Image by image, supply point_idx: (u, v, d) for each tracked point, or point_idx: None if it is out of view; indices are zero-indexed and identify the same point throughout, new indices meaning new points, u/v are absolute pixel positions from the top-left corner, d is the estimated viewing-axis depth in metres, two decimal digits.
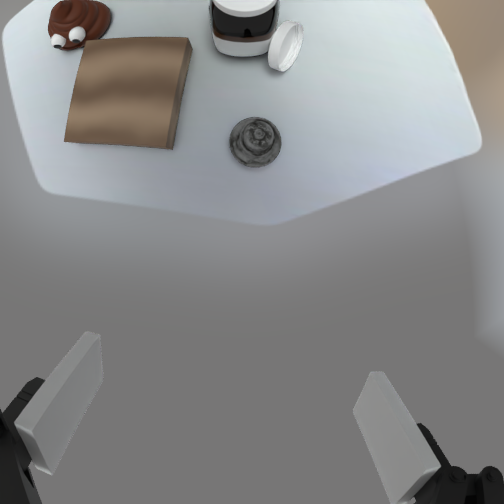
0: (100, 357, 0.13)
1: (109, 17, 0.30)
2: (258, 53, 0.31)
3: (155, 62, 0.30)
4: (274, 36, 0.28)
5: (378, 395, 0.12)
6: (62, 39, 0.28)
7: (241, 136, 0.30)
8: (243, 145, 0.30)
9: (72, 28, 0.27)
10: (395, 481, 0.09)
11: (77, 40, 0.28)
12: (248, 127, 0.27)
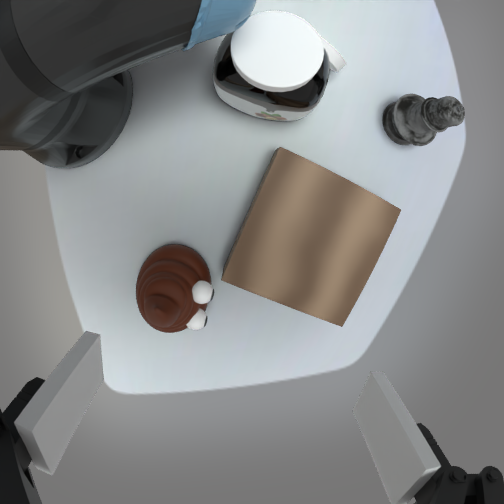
0: (100, 357, 0.13)
1: (182, 246, 0.33)
2: None
3: (301, 193, 0.29)
4: None
5: (378, 395, 0.12)
6: (200, 313, 0.31)
7: (432, 128, 0.24)
8: (440, 130, 0.24)
9: (193, 297, 0.30)
10: (395, 481, 0.09)
11: (213, 292, 0.31)
12: (448, 116, 0.21)
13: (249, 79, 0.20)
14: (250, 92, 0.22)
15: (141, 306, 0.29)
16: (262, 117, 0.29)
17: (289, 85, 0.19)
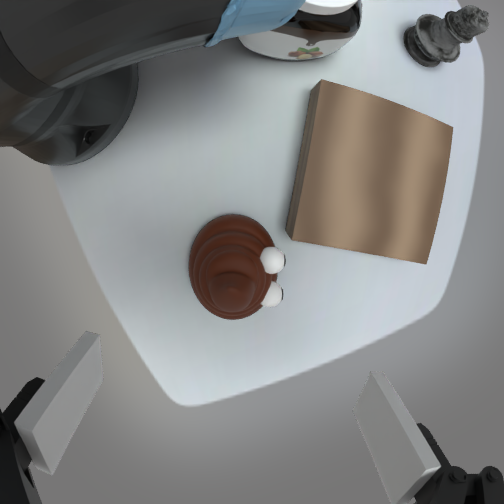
0: (100, 357, 0.13)
1: (233, 215, 0.28)
2: None
3: (355, 124, 0.24)
4: None
5: (378, 395, 0.12)
6: (274, 285, 0.27)
7: (461, 39, 0.18)
8: (468, 40, 0.18)
9: (265, 267, 0.25)
10: (395, 481, 0.09)
11: (284, 256, 0.26)
12: (475, 22, 0.15)
13: None
14: (296, 21, 0.17)
15: (205, 293, 0.25)
16: (294, 57, 0.24)
17: (344, 4, 0.14)
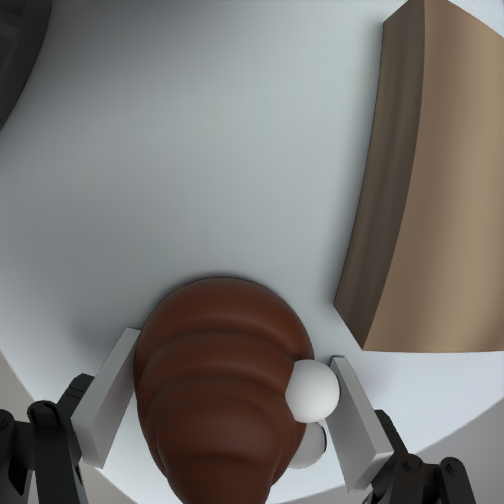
0: None
1: (222, 281, 0.12)
2: None
3: (494, 90, 0.08)
4: None
5: None
6: (310, 434, 0.11)
7: None
8: None
9: (296, 418, 0.10)
10: (351, 465, 0.10)
11: (339, 384, 0.10)
12: None
13: None
14: None
15: (161, 469, 0.09)
16: None
17: None
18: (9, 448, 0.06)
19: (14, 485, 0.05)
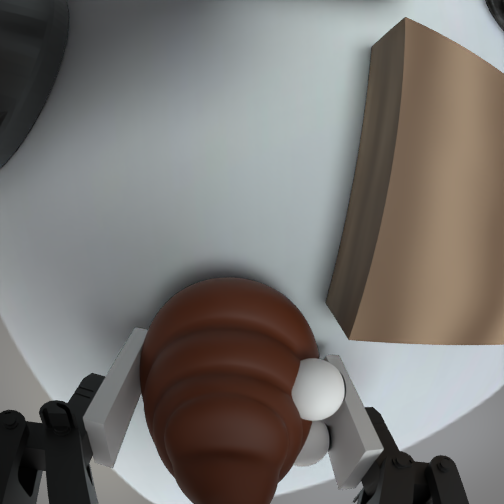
0: None
1: (229, 280, 0.12)
2: None
3: (469, 109, 0.10)
4: None
5: None
6: (315, 432, 0.11)
7: None
8: None
9: (302, 415, 0.10)
10: (341, 463, 0.10)
11: (344, 383, 0.11)
12: None
13: None
14: None
15: (167, 467, 0.09)
16: None
17: None
18: (19, 449, 0.06)
19: (23, 486, 0.06)
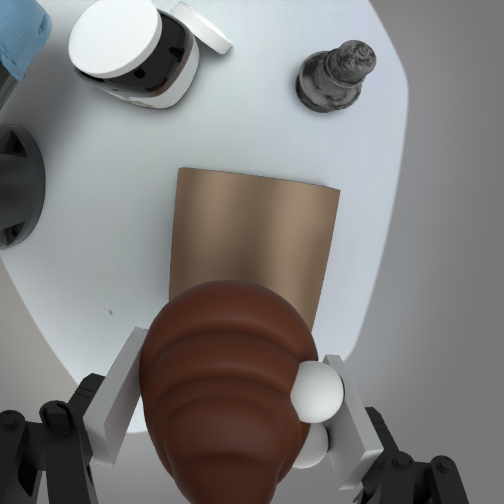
0: None
1: (228, 283, 0.12)
2: (198, 60, 0.24)
3: (216, 209, 0.26)
4: (191, 29, 0.20)
5: None
6: (314, 434, 0.11)
7: (344, 85, 0.21)
8: (355, 83, 0.21)
9: (301, 418, 0.10)
10: (341, 463, 0.10)
11: (343, 385, 0.11)
12: (351, 65, 0.17)
13: (78, 68, 0.16)
14: (93, 80, 0.18)
15: (167, 468, 0.09)
16: (136, 104, 0.26)
17: (109, 70, 0.16)
18: (19, 449, 0.06)
19: (23, 486, 0.06)
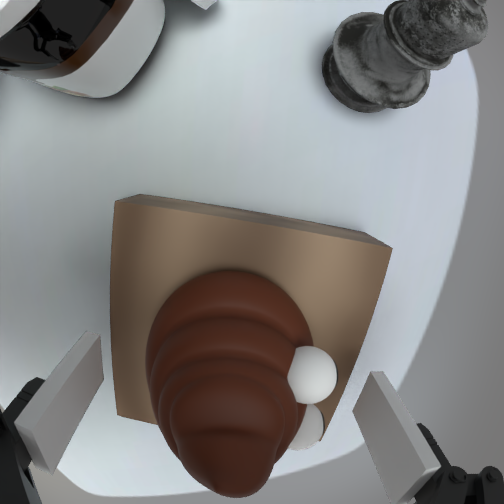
0: (101, 357, 0.13)
1: (230, 274, 0.14)
2: (161, 18, 0.12)
3: (177, 276, 0.15)
4: None
5: (378, 395, 0.12)
6: (310, 416, 0.12)
7: (423, 62, 0.09)
8: (440, 64, 0.09)
9: (298, 398, 0.11)
10: (395, 481, 0.09)
11: (336, 369, 0.12)
12: (454, 21, 0.06)
13: None
14: None
15: (171, 447, 0.10)
16: None
17: None
18: None
19: None
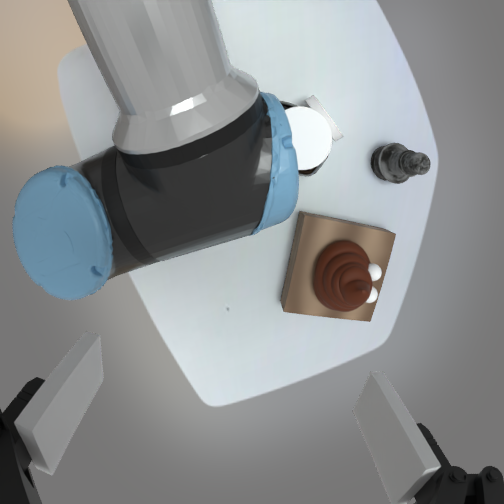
0: (100, 357, 0.13)
1: (346, 241, 0.40)
2: None
3: (325, 243, 0.42)
4: None
5: (378, 395, 0.12)
6: (373, 288, 0.39)
7: (408, 175, 0.36)
8: (414, 174, 0.36)
9: (372, 276, 0.38)
10: (395, 481, 0.09)
11: (381, 270, 0.38)
12: (417, 170, 0.33)
13: None
14: None
15: (337, 294, 0.37)
16: None
17: (303, 169, 0.31)
18: None
19: None
